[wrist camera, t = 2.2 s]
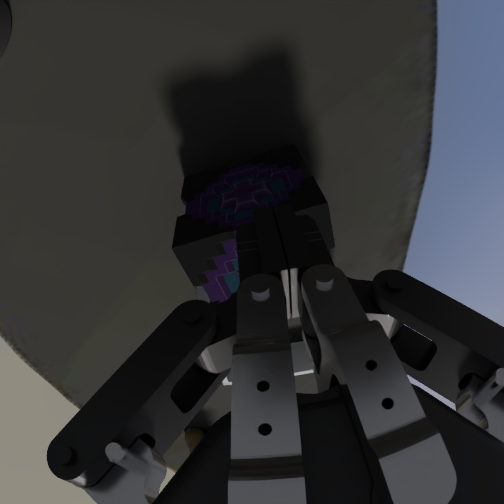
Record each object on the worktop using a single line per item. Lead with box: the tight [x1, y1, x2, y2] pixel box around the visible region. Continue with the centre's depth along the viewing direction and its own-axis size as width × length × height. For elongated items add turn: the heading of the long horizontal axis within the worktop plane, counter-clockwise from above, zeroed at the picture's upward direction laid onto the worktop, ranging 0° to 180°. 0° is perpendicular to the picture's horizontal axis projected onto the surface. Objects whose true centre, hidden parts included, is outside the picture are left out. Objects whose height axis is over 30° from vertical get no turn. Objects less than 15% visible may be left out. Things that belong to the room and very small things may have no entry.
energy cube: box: [172, 144, 335, 313], centre depth 32 cm, size 12×12×12 cm
